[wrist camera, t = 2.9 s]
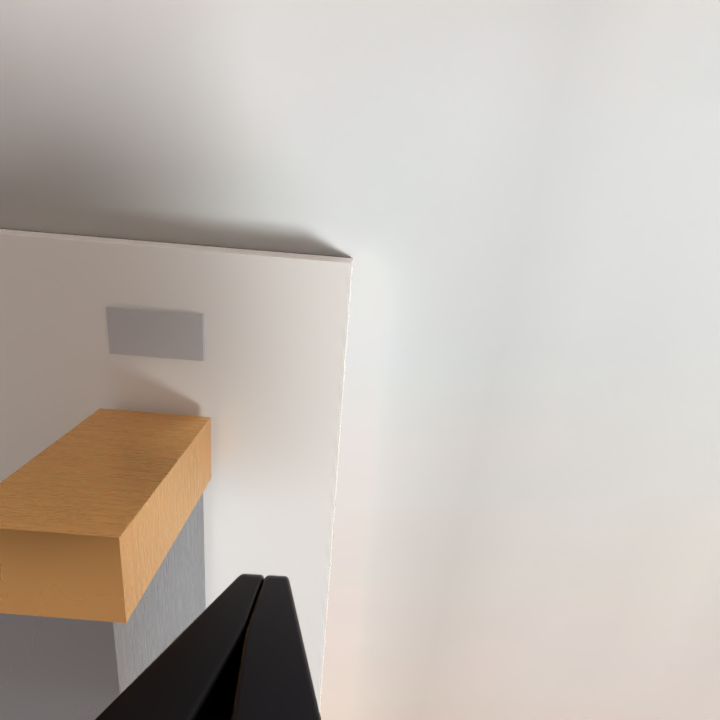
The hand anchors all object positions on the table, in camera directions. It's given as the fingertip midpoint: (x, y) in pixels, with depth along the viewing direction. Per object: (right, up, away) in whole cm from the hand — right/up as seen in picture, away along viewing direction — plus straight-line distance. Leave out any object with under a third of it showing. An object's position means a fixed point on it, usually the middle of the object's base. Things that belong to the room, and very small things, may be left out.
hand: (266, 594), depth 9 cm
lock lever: (-3, -2, +4) cm, 5 cm away
